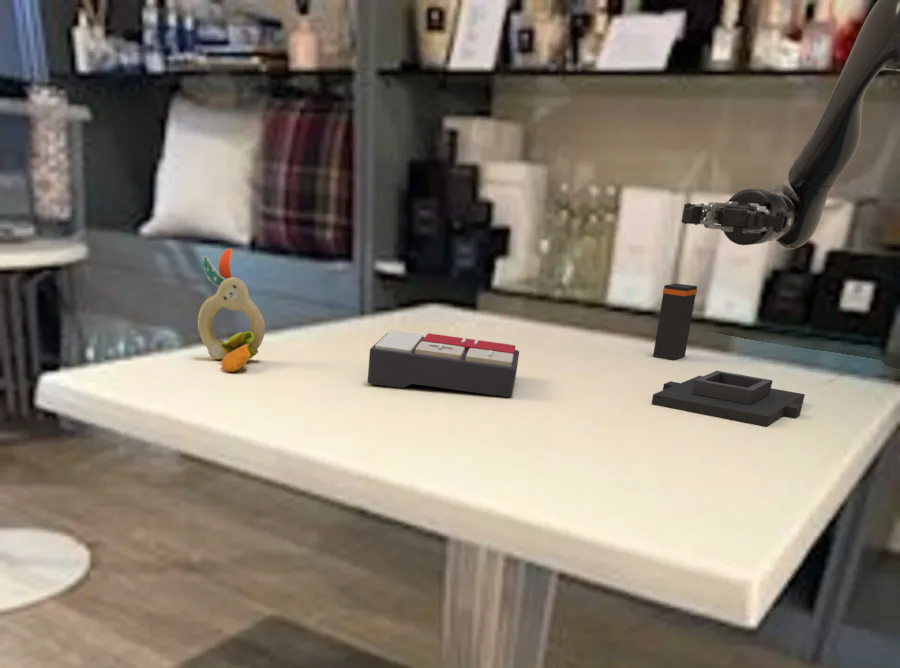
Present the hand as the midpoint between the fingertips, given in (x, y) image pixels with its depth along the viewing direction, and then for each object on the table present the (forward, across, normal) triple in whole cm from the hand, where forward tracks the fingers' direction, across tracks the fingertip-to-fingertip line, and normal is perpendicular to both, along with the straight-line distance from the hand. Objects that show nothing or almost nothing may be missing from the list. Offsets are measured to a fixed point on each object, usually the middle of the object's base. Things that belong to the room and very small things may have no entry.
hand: (720, 217), depth 118 cm
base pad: (+32, +15, +17) cm, 39 cm away
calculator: (+47, -11, +17) cm, 52 cm away
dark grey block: (+11, 0, +17) cm, 20 cm away
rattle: (+60, -32, +17) cm, 70 cm away
